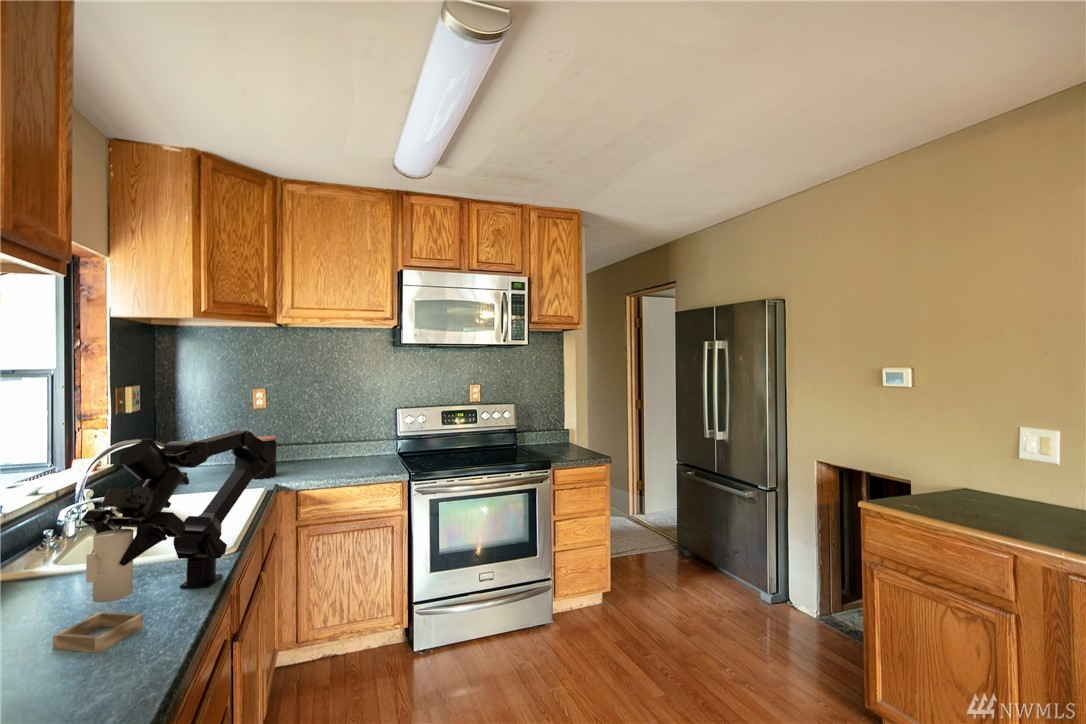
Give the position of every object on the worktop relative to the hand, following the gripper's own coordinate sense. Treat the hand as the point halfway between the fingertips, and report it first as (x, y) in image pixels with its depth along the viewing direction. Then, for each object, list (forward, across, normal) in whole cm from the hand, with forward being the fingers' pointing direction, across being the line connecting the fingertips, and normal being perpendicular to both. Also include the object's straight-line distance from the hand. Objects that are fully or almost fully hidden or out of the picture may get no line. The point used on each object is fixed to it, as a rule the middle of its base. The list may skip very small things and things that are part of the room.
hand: (106, 564), depth 99 cm
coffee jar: (-83, -59, +103) cm, 145 cm away
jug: (+4, 0, +6) cm, 7 cm away
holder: (+10, 0, +9) cm, 14 cm away
